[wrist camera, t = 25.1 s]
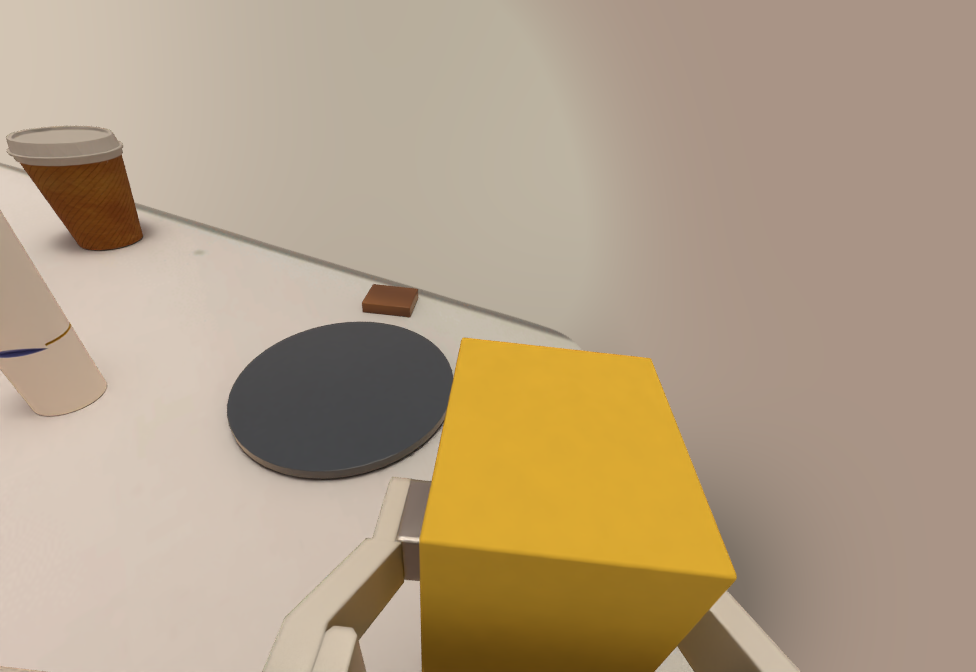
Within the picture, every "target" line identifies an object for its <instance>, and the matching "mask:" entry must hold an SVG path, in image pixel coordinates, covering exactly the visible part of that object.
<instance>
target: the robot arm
mask: <svg viewBox="0 0 976 672" xmlns="http://www.w3.org/2000/svg"><path fill="white" fill-rule="evenodd" d="M431 482H432V481H423V480H415V479H409V478H399V477H392V479H391V480H390V482H389V485H388V488H387V491H386V495H385V498H384V501H383V504H382V508H381V511H380V514H379V518H378V521H377V524H376V528H375V531H374V534H373V537H372V539H371V538H366V539H365V540H364V541H363V542H362V543H361V544H360V545H359V546H358V547H357V548H356V549H355V550H354V551H353V552H352V553H351V554H350V555H348V556H347V557H346V558H345V559H344V560H343V561H342V562H341V563H340V564H339V565H338V566H337V567H336V568H335V569H334V570H333V571H332V572H331V573H330V574H329V575H328V576H327V577H326V578H325V579H324V580H323V581H322V582H321V583H320V584H319V585H318V586H317V587H316V588H315V589H314V590H313V591H312V592H311V593H309V594H308V595H307V596H306V597H305V598H304V599H303V600H302V601H301V602H300V603H299V604H298V605H297V606H296V607H295V608H294V609H293V610H292V611H291V612H290V613H289V614H288V615H287V616H286V617H285V618H284V621H283V623H282V626H281V628H280V630H279V633H278V635H277V638H276V640H275V642H274V645H273V647H272V650H271V652H270V654H269V657H268V659H267V662H266V664H265V666H264V669H263V671H262V672H366V669H365V665H364V661H363V657H362V653H361V649H360V645H359V639H360V638H361V637H362V635H363V634H364V633H365V632H366V630H367V629H368V628H369V627H370V625H371V624H372V623H373V621H374V620H375V619H376V618H377V616H378V615H379V614H380V612H381V611H382V610H383V609H384V607H385V606H386V605H387V603H388V602H389V601H390V600H391V598H392V597H393V596H394V594H395V593H396V592H397V591H398V589H399V588H400V587H401V585H402V584H403V583H404V580H413V581H420V555H419V538H420V534H421V529H422V524H423V519H424V515H425V510H426V505H427V501H428V496H429V491H430V486H431ZM678 648H679V649H680V651H681V652H682V654H683V655H684V657H685V658H686V660H687V662H688V663H689V665H690V666H691V668H692V669H693V671H694V672H801V671H800V670H799V669H798V668H797V667H796V666H795V665H794V664H793V662H792V661H791V660H790V659H789V658H788V657H787V656H786V655H785V654H784V653H783V652H782V651H781V649H780V648H779V647H778V646H777V645H776V644H775V643H774V642H773V641H772V639H771V638H770V637H769V636H768V635H767V634H766V633H765V632H764V631H763V630H762V629H761V628H760V626H759V625H758V624H757V623H756V622H755V621H754V620H753V619H752V618H751V616H750V615H749V614H748V613H747V612H746V611H745V610H744V609H743V608H742V607H741V605H740V604H739V603H738V602H737V601H736V600H735V599H734V598H733V597H732V596H731V595H730V593H729V592H728V591H727V590H726V592H725V593H724V594H723V595H722V596H721V597H720V598H719V599H718V601H717V602H716V603H715V604H714V605H713V606H712V607H711V608H710V610H709V611H708V612H707V613H706V614H705V615H704V616H703V617H702V619H701V620H700V621H699V622H698V623H697V624H696V625H695V626H694V628H693V629H692V630H691V631H690V632H689V633H688V634H687V635H686V637H685V638H684V639H683V640H682V641H681V642H680V643H679V644H678ZM0 672H46V671H37V670H29V669H20V668H12V667H3V666H0Z"/></svg>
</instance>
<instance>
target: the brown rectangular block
mask: <svg viewBox="0 0 976 672" xmlns="http://www.w3.org/2000/svg"><path fill="white" fill-rule="evenodd" d="M417 299H418V289H414V288H404V287H395V286H386V285H376V284H373V285H372V287H371V289H370V290H369V292H368V294H367V295H366V297H365V299H364V300H363V302H362V308H363V312H367V313H376V314H385V315H394V316H403V317H410V316H411V314H412V312H413V309H414V307H415V304H416V302H417Z"/></svg>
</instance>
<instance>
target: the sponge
mask: <svg viewBox="0 0 976 672" xmlns="http://www.w3.org/2000/svg"><path fill="white" fill-rule="evenodd" d="M419 555H420V605H421V655H422V672H654V671H655V670H656V669H657V668H658V667H659V666H660V665H661V664H662V662H663V661H664V660H665V659H666V658H667V657H668V656H669V655H670V653H671V652H672V651H673V650H674V649H675V648H676V647H677V646H678V644H679V643H680V642H681V641H682V640H683V639H684V638H685V637H686V635H687V634H688V633H689V632H690V631H691V630H692V629H693V628H694V626H695V625H696V624H697V623H698V622H699V621H700V620H701V619H702V617H703V616H704V615H705V614H706V613H707V612H708V611H709V610H710V608H711V607H712V606H713V605H714V604H715V603H716V602H717V601H718V599H719V598H720V597H721V596H722V595H723V594H724V593H725V592H726V590H727V589H728V588H729V587H730V586H731V585H732V584H733V583H734V581H735V580H736V578H737V577H736V573H735V570H734V568H733V565H732V563H731V560H730V558H729V555H728V552H727V550H726V547H725V545H724V542H723V540H722V538H721V535H720V532H719V530H718V527H717V525H716V522H715V520H714V517H713V515H712V512H711V510H710V507H709V504H708V502H707V500H706V497H705V494H704V492H703V489H702V487H701V484H700V482H699V479H698V477H697V474H696V471H695V469H694V466H693V464H692V461H691V459H690V456H689V454H688V451H687V449H686V446H685V444H684V441H683V439H682V436H681V434H680V431H679V429H678V426H677V423H676V421H675V419H674V416H673V413H672V411H671V408H670V406H669V403H668V401H667V398H666V396H665V393H664V391H663V388H662V386H661V383H660V380H659V378H658V375H657V373H656V370H655V368H654V365H653V363H652V361H651V359H650V358H643V357H635V356H625V355H617V354H607V353H598V352H589V351H580V350H571V349H562V348H553V347H544V346H535V345H526V344H517V343H508V342H499V341H490V340H481V339H472V338H462V340H461V344H460V349H459V354H458V359H457V363H456V368H455V373H454V378H453V382H452V387H451V392H450V396H449V401H448V406H447V411H446V415H445V420H444V425H443V430H442V434H441V439H440V444H439V449H438V453H437V458H436V463H435V467H434V472H433V477H432V482H431V486H430V491H429V496H428V501H427V505H426V510H425V515H424V519H423V524H422V529H421V534H420V538H419Z"/></svg>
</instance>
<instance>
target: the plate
mask: <svg viewBox="0 0 976 672" xmlns="http://www.w3.org/2000/svg"><path fill="white" fill-rule="evenodd" d="M452 382H453V374H452V370H451V367H450V364H449V362H448V360H447V359H446V357H445V356H444V354H443V353H442V352H441V351H440V349H439V348H438V347H437V346H435V345H434V344H433V343H432V342H431V341H429V340H428V339H426V338H425V337H423V336H421V335H419V334H417V333H415V332H413V331H410V330H408V329H405V328H402V327H398V326H395V325H389V324H384V323H375V322H345V323H336V324H331V325H325V326H321V327H317V328H313V329H309V330H306V331H303V332H300V333H298V334H295V335H293V336H290V337H288V338H286V339H284V340H282V341H280V342H278V343H276V344H275V345H273V346H271V347H270V348H268V349H267V350H265V351H264V352H262V353H261V354H260V355H259V356H257V357H256V358H255V359H254V360H253V361H252V362H251V363H250V364H248V365H247V367H246V368H245V369H244V370H243V371H242V373H241V374H240V375H239V377H238V378H237V380H236V381H235V383H234V385H233V387H232V390H231V392H230V394H229V399H228V404H227V417H228V422H229V426H230V429H231V431H232V433H233V435H234V437H235V439H236V442H237V443H238V444H239V446H240V447H241V448H242V450H243V451H244V452H245V453H246V454H247V455H249V456H250V457H251V458H252V459H253V460H255V461H256V462H258V463H260V464H262V465H263V466H265V467H267V468H269V469H272V470H274V471H277V472H280V473H283V474H287V475H292V476H296V477H304V478H339V477H348V476H353V475H358V474H362V473H366V472H370V471H373V470H376V469H379V468H382V467H384V466H386V465H389V464H391V463H393V462H396V461H398V460H399V459H401V458H403V457H405V456H406V455H408V454H410V453H412V452H413V451H414V450H416V449H417V448H418V447H420V446H421V445H422V444H424V443H425V442H426V441H427V440H428V439H429V438H430V437H431V436H432V435H433V434H434V433H435V432H436V430H437V429H438V428H439V427H440V425H441V424H442V423H443V421H444V419H445V415H446V411H447V406H448V401H449V396H450V392H451V387H452Z"/></svg>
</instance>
